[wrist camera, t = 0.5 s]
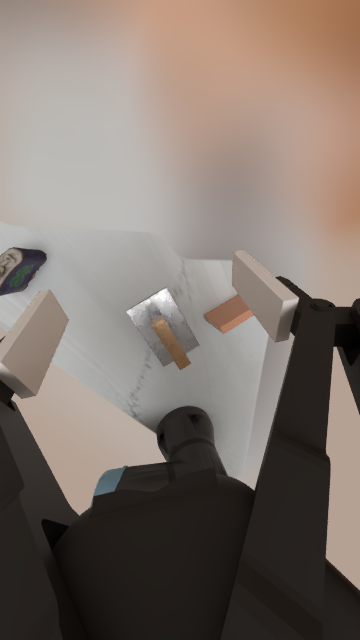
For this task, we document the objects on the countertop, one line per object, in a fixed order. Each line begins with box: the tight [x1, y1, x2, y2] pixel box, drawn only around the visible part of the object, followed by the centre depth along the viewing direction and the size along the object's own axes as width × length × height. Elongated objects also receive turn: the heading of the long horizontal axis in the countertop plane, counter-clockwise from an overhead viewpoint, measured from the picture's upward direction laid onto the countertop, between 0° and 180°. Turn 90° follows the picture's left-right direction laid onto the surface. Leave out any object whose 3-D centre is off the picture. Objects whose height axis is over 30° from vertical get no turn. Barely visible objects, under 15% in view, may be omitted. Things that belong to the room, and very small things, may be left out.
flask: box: [0, 247, 47, 296], centre depth 34 cm, size 9×3×11 cm, turn 139°
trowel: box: [126, 288, 199, 370], centre depth 43 cm, size 16×10×11 cm, turn 29°
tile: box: [204, 294, 254, 334], centre depth 45 cm, size 2×10×10 cm, turn 119°
